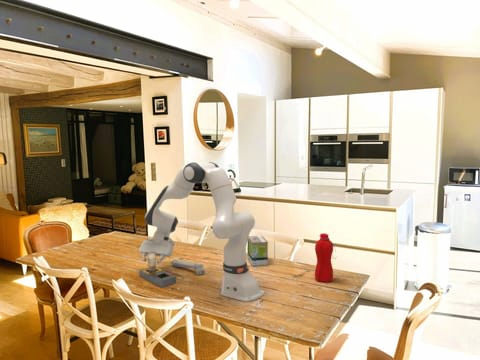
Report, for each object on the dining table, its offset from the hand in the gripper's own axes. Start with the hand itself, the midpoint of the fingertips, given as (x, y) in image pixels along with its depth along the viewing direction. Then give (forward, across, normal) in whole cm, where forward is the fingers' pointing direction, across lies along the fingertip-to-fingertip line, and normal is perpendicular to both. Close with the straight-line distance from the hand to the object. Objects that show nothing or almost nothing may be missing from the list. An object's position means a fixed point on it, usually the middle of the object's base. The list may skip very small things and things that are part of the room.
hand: (151, 261), depth 202 cm
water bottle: (-12, +92, +25) cm, 96 cm away
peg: (+6, 0, +7) cm, 9 cm away
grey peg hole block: (+8, +5, +5) cm, 10 cm away
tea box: (-23, +48, +36) cm, 65 cm away
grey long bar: (-5, +14, +18) cm, 24 cm away
